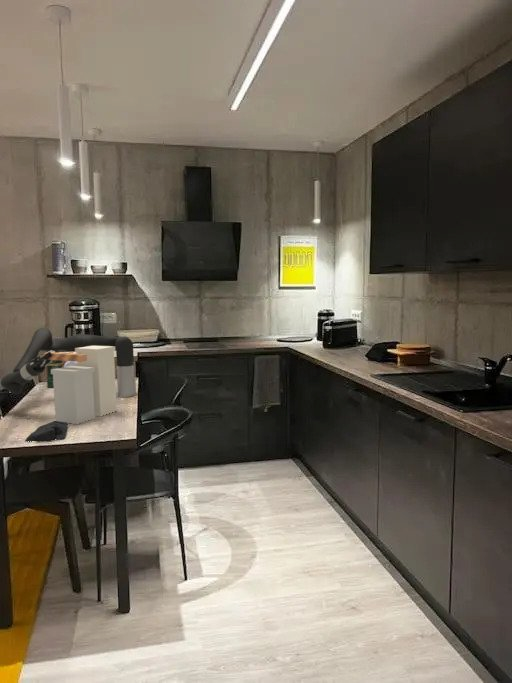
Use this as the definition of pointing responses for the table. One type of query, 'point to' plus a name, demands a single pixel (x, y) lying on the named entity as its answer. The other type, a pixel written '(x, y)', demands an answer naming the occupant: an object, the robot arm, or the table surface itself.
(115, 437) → the table surface
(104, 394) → the stand
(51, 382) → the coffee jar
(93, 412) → the block
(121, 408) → the table surface
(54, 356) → the board
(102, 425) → the table surface
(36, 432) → the dark slate chunk
